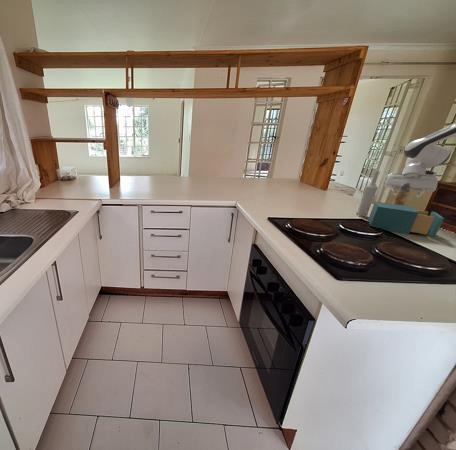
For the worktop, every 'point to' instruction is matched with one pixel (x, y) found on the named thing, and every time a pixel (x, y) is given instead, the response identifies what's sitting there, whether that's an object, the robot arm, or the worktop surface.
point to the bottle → (368, 196)
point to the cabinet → (392, 217)
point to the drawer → (427, 223)
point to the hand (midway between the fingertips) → (406, 195)
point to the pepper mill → (402, 195)
